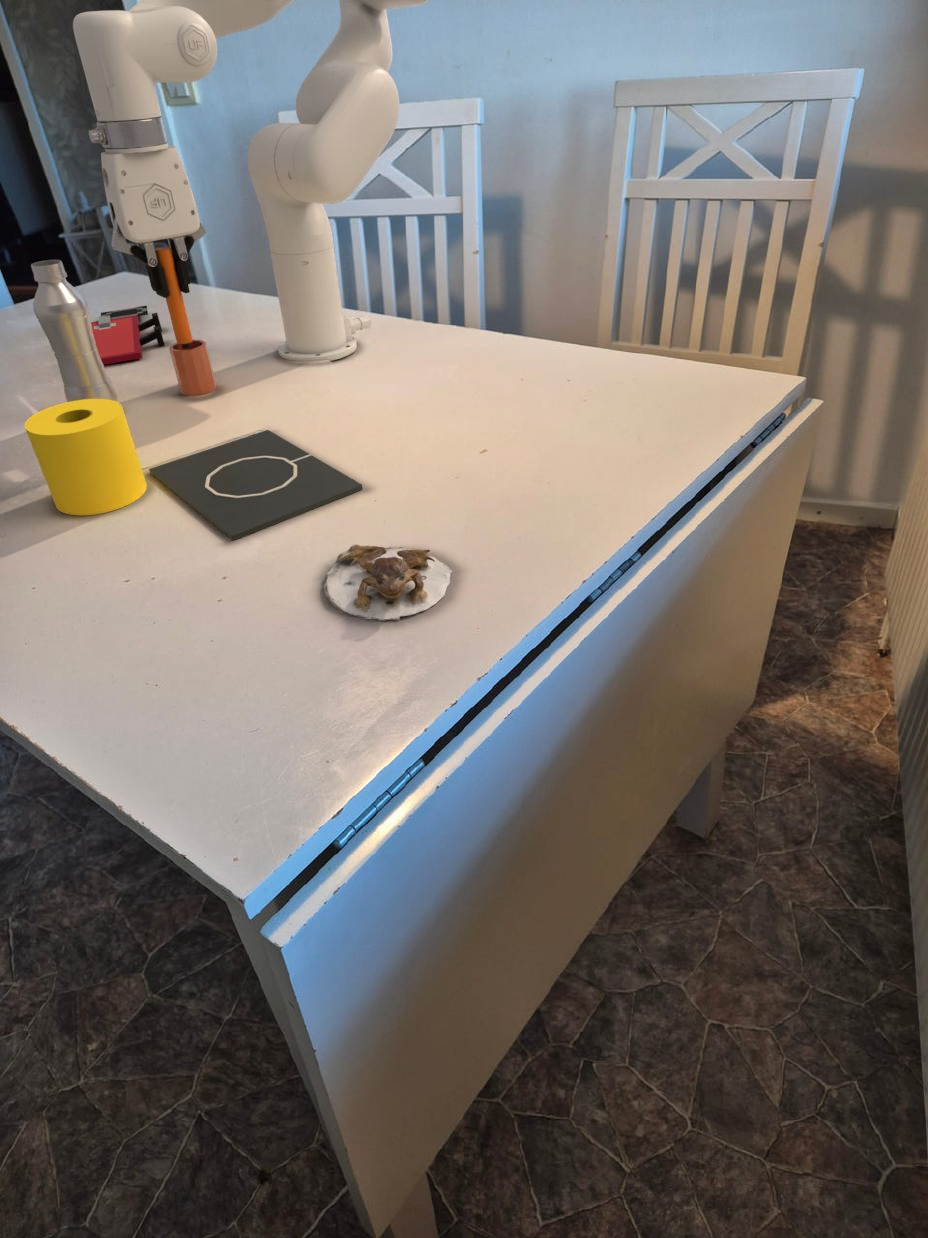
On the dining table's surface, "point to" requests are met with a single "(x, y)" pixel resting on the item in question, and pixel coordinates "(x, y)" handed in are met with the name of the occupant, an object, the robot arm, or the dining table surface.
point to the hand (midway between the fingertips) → (173, 292)
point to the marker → (175, 298)
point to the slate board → (253, 483)
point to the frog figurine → (385, 582)
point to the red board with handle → (124, 334)
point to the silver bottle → (70, 334)
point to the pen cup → (193, 368)
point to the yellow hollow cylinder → (87, 456)
